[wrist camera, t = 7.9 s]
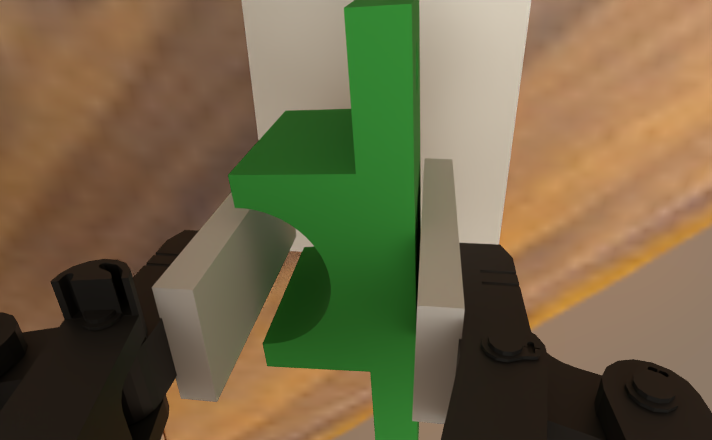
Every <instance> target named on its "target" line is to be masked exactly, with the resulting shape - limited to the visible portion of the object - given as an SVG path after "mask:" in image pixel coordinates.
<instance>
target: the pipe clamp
mask: <svg viewBox="0 0 712 440" xmlns="http://www.w3.org/2000/svg"><path fill="white" fill-rule="evenodd" d="M344 19H345V32H346V46H347V60H348V73H349V87H350V100H351V109H324V110H288V111H285V112H284V113H283V114H282V115H281V116H280V117H279V118H278V119H277V121H276V122H275V123H274V124H273V125H272V126H271V127H270V128H269V130H268V131H267V132H266V133H265V134H264V135H263V136H262V137H261V139H260V140H259V141H258V142H257V143H256V144H255V145H254V146H253V148H252V149H251V150H250V151H249V152H248V153H247V154H246V155H245V157H244V158H243V159H242V160H241V161H240V162H239V163H238V164H237V165H236V167H235V168H234V169H233V170H232V171H231V172H230V173H229V174H228V178H229V183H230V188H231V192H232V197H233V202H234V207H235V208H244V209H251V210H256V211H260V212H264V213H266V214H269V215H272V216H274V217H277V218H279V219H281V220H283V221H284V222H286V223H288V224H290V225H291V226H293V227H294V228H295V229H297V230H298V231H299V232H301V233H302V234H303V235H304V236H305V237H306V238H307V239H308V240H309V241H310V242H311V243H312V244H313V245H314V246H313V247H304V249H303V251H302V253H301V256H300V258H299V260H298V263H297V265H296V267H295V270H294V272H293V274H292V277H291V279H290V281H289V284H288V286H287V288H286V290H285V293H284V295H283V297H282V300H281V302H280V304H279V307H278V309H277V311H276V314H275V316H274V318H273V321H272V323H271V325H270V328H269V330H268V332H267V335H266V337H265V339H264V342H263V348H264V353H265V358H266V362H267V366H273V367H291V368H310V369H329V370H348V371H367V372H370V373H371V386H372V400H373V414H374V426H375V440H418V433H419V422H417V421H412V412H413V390H414V367H415V345H416V323H417V301H418V281H419V261H420V240H421V169H420V17H419V0H354V1H353V2H351V3H350V4H348V5H347V6H346V7H344Z"/></svg>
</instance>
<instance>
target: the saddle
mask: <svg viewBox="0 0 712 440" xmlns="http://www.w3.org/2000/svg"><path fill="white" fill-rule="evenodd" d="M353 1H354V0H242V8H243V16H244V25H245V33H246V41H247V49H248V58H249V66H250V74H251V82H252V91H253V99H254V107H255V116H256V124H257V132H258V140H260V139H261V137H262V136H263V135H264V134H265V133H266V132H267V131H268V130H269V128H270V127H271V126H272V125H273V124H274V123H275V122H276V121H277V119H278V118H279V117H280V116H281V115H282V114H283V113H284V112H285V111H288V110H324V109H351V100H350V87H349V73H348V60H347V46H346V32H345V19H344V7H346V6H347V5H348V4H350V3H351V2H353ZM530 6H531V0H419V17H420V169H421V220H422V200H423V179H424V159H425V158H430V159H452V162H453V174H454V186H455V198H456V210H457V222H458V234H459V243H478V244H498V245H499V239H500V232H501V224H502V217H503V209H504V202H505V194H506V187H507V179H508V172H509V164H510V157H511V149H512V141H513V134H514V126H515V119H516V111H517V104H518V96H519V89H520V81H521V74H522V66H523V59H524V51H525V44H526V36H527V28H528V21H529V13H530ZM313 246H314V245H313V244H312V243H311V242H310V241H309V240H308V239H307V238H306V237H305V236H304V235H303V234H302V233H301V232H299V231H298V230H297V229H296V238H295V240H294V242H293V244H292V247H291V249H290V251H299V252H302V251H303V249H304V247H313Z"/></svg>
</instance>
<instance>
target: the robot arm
mask: <svg viewBox="0 0 712 440" xmlns="http://www.w3.org/2000/svg"><path fill="white" fill-rule="evenodd" d="M295 238H296V229H295V228H294V227H293V226H291V225H290V224H288V223H286V222H284V221H283V220H281V219H279V218H277V217H274V216H272V215H269V214H266V213H264V212H260V211H256V210H251V209H244V208H235V207H234V202H233V197H232V192H231V193H230V194H229V195H228V197H227V198H226V199H225V200H224V201H223V203H222V204H221V205H220V206H219V207H218V209H217V210H216V211H215V212H214V213H213V215H212V216H211V217H210V218H209V219H208V221H207V222H206V223H205V224H204V225H203V227H202V228H201V229H200V230H199V231H193V230H184V231H183V232H181V233H179V234H177V235H176V236H174V237H172V238H170V239H169V240H167V241H166V242H165V243H164V244H163V245H162V247H161V248H160V249H159V250H158V251H157V252H156V255H153V256H152V257H151V259H150V260H149V261H148V262H147V265H146V266H143V267H142V268H141V270H140V271H139V272H138V273H137V274H136V275H135V276H134V277H132V274H131V270H130V268H129V267H128V265H127V264H126V263H124V262H121V261H119V260H111V259H101V260H94V261H88V262H85V263H82V264H79V265H76V266H73V267H71V268H69V269H67V270H66V271H64V272H62V273H60V274H59V275H58V276H57V277H55V278H54V279H53V280H52V281H51V284H52V287H53V289H54V292H55V295H56V297H57V300H58V303H59V305H60V308H61V311H62V313H63V316H64V318H65V320H64V321H63V323H62V324H61V326H60V327H58V328H51V329H44V330H37V331H30V332H23V333H22V332H21V329H20V327H19V325H18V323H17V321H16V319H15V318H14V316H13V315H9V314H6V313H0V440H161V437H162V434H163V431H164V428H165V425H166V422H167V419H168V415H169V404H168V401H167V397H166V393H167V391H168V389H169V388H170V386H171V384H172V383H173V381H174V380H175V378H176V381H177V385H178V389H179V393H180V396H181V398H182V399H192V400H203V401H213V402H217V401H218V399H219V397H220V395H221V393H222V391H223V388H224V386H225V384H226V382H227V380H228V378H229V376H230V374H231V372H232V370H233V368H234V365H235V363H236V361H237V359H238V357H239V355H240V353H241V351H242V349H243V347H244V345H245V343H246V340H247V338H248V336H249V334H250V332H251V330H252V328H253V326H254V324H255V322H256V320H257V317H258V315H259V313H260V311H261V309H262V307H263V305H264V303H265V301H266V299H267V297H268V295H269V292H270V290H271V288H272V286H273V284H274V282H275V280H276V278H277V276H278V274H279V272H280V269H281V267H282V265H283V263H284V261H285V259H286V257H287V255H288V253H289V251H290V249H291V247H292V244H293V242H294V240H295ZM412 421H417V422H427V423H437V424H444V428H443V433H442V437H441V440H712V413H711V411H710V409H709V408H708V406H707V405H706V403H705V402H704V400H703V399H702V397H701V396H700V394H699V393H698V392H697V391H696V390H695V389H694V388H693V387H692V386H691V384H690V383H689V382H688V381H686V380H685V379H683V378H682V377H680V376H679V375H677V374H676V373H674V372H673V371H671V370H669V369H667V368H664V367H662V366H659V365H656V364H654V363H651V362H645V361H640V360H634V359H633V360H623V361H617V362H615V363H613V364H611V365H609V366H608V367H606V369H605V371H604V373H603V375H598V374H595V373H592V372H589V371H585V370H582V369H578V368H575V367H573V366H570V365H568V364H565V363H563V362H561V361H559V360H557V359H555V358H554V357H552V356H550V355H549V354H548V353H547V352H546V348H545V345H544V344H543V343H542V342H541V340H540V339H539V338H538V337H537V336H536V335H535V334H533V333H532V332H531V330H530V326H529V322H528V318H527V314H526V310H525V306H524V302H523V298H522V294H521V290H520V287H519V282H518V278H517V275H516V270H515V266H514V262H513V258H512V257H511V256H510V255H509V254H508V252H507V251H506V250H505V249H504V248H503V247H502V246H501V245H498V244H478V243H459V234H458V222H457V210H456V198H455V186H454V174H453V162H452V159H430V158H425V159H424V179H423V200H422V220H421V240H420V261H419V281H418V301H417V323H416V345H415V367H414V390H413V412H412Z"/></svg>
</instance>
